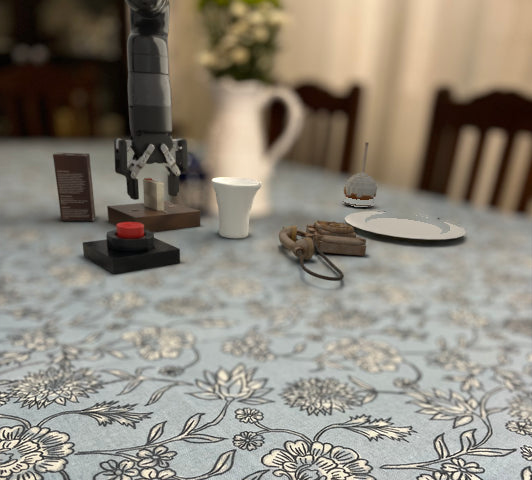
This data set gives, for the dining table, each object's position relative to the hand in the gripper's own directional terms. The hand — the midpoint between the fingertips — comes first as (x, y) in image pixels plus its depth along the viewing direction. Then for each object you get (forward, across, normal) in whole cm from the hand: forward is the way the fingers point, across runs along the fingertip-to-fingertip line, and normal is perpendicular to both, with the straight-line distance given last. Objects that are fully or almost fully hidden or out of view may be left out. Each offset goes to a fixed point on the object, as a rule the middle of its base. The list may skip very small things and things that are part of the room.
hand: (154, 197), depth 99 cm
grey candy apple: (+5, -56, +5) cm, 56 cm away
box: (+5, +11, -10) cm, 16 cm away
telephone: (+5, -14, +32) cm, 35 cm away
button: (+1, +15, +19) cm, 24 cm away
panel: (+5, 0, 0) cm, 5 cm away
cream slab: (+2, 0, 0) cm, 2 cm away
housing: (+5, +15, +19) cm, 25 cm away
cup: (+5, -9, +14) cm, 17 cm away
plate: (+5, -43, +28) cm, 52 cm away
